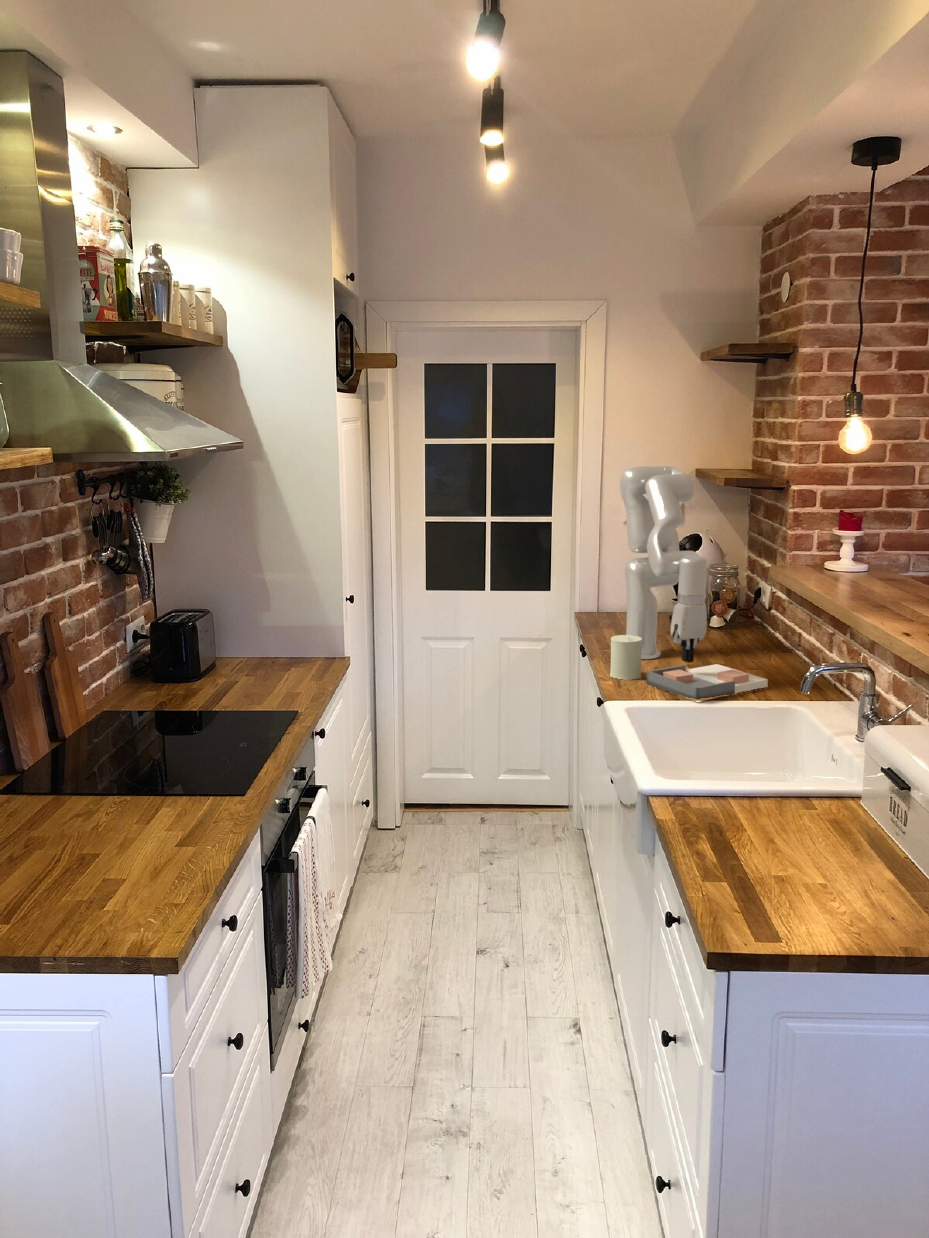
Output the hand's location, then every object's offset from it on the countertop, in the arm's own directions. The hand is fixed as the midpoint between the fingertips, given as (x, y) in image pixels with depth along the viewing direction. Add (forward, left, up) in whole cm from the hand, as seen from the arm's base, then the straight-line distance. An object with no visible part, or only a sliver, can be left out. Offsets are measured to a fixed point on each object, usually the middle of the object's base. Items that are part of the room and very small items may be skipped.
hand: (687, 661), depth 281 cm
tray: (+6, -5, -6) cm, 10 cm away
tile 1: (+1, -4, -5) cm, 6 cm away
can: (-15, -11, -7) cm, 19 cm away
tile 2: (+12, +6, -4) cm, 14 cm away
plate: (+6, +9, -6) cm, 13 cm away
